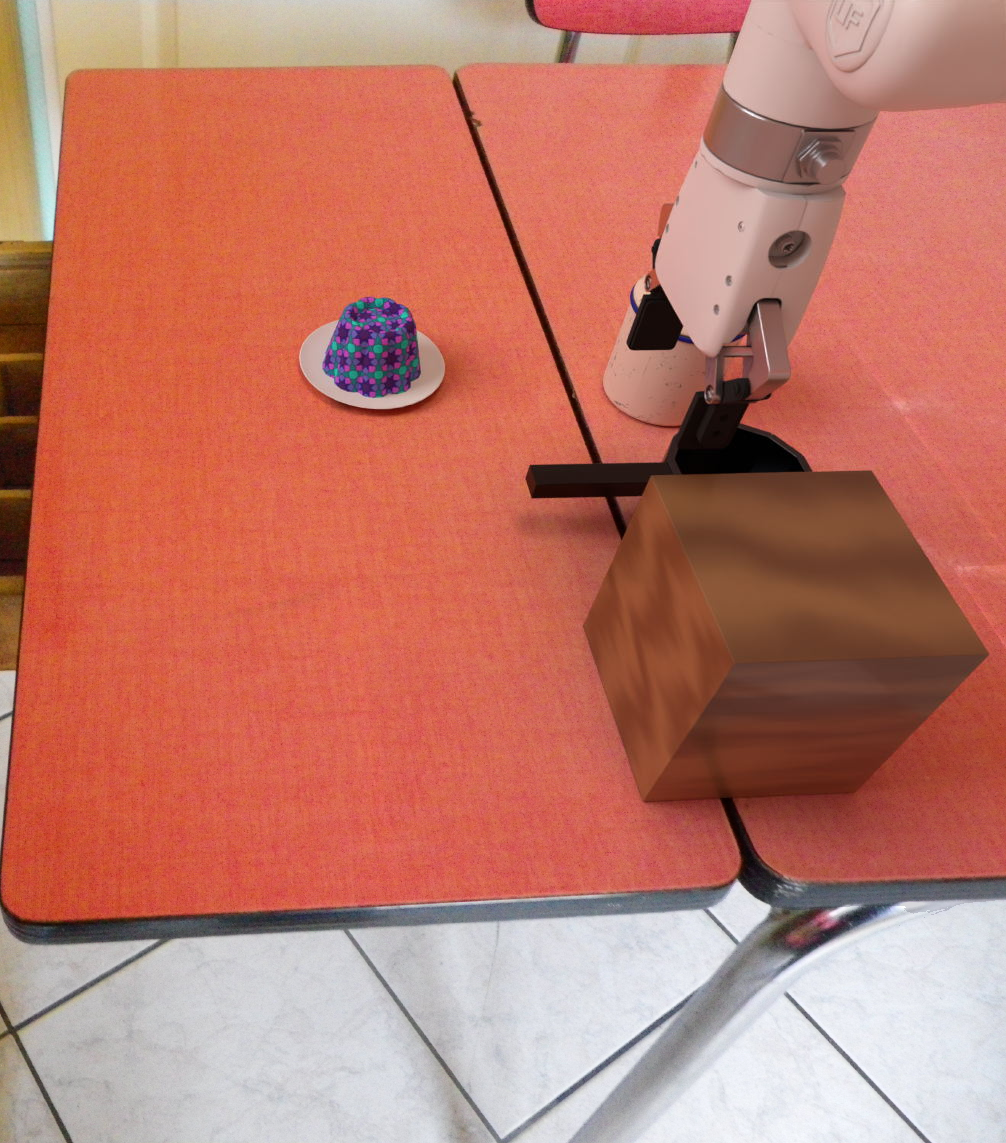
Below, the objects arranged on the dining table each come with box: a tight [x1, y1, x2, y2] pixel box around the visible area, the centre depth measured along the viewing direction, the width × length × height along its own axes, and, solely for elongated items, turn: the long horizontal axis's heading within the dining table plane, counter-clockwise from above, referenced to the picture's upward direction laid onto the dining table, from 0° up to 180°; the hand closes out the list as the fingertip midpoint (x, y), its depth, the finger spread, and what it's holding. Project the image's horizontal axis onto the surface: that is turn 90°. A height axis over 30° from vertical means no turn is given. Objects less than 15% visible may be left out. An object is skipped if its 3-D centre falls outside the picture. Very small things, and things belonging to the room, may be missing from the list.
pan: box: [524, 422, 814, 499], centre depth 74 cm, size 20×10×5 cm, turn 93°
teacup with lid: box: [602, 272, 747, 427], centre depth 82 cm, size 12×9×12 cm
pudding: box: [298, 296, 446, 410], centre depth 85 cm, size 12×12×5 cm
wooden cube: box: [582, 469, 990, 803], centre depth 61 cm, size 13×13×14 cm
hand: (673, 394), depth 66 cm, fingers open, 9 cm apart
